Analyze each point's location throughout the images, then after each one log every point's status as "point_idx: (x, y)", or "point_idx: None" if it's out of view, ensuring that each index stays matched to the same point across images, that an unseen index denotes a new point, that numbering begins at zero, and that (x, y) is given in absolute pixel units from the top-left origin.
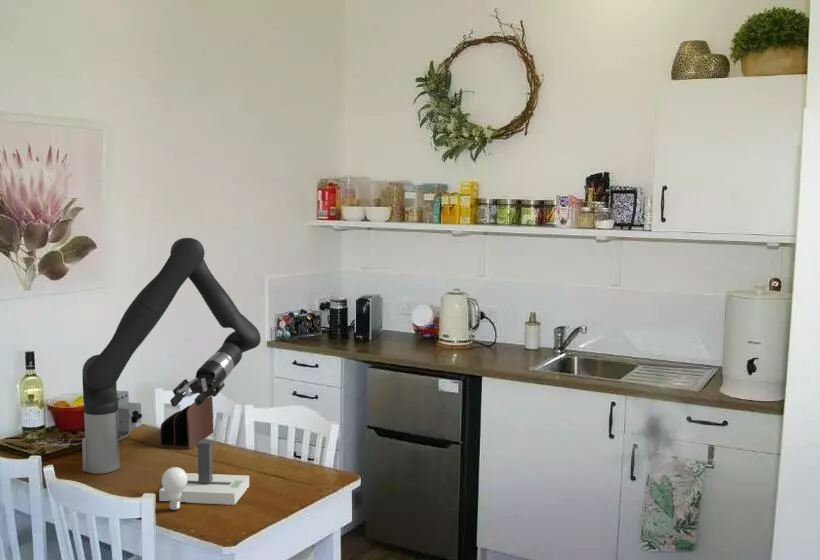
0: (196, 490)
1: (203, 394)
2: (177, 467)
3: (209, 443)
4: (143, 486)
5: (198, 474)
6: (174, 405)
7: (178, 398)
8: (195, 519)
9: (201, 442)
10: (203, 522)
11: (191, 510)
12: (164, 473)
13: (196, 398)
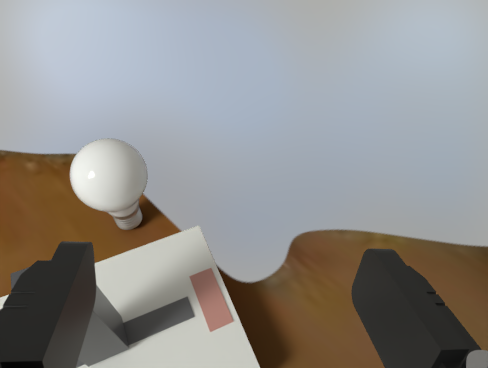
0: (98, 273)
1: (2, 342)
2: (93, 158)
3: (13, 278)
4: (329, 301)
5: (113, 307)
6: (354, 287)
7: (397, 337)
8: (52, 205)
9: None
10: (25, 201)
11: (89, 237)
12: (124, 142)
13: (69, 249)
